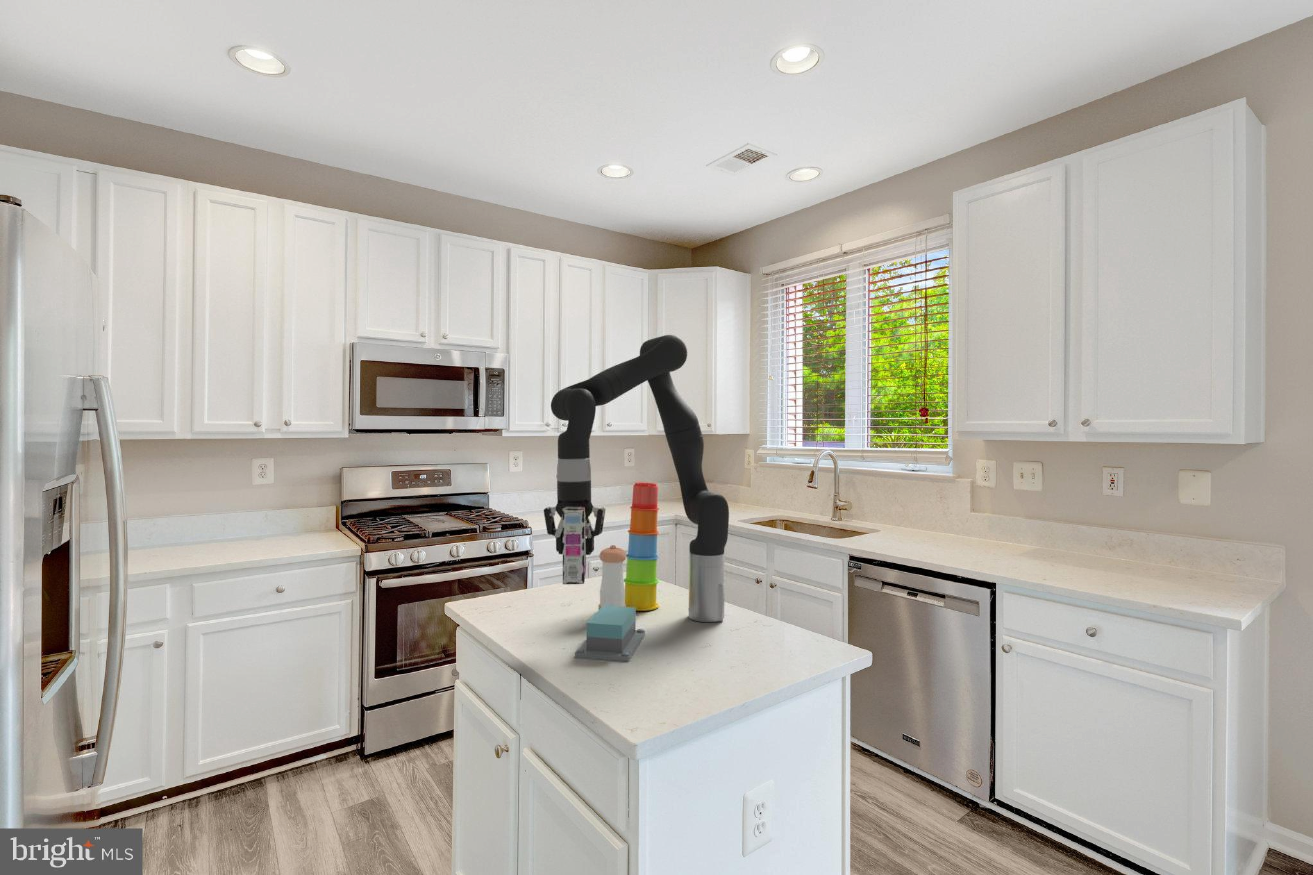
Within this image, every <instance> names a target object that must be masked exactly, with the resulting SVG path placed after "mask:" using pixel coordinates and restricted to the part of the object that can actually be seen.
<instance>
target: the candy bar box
mask: <svg viewBox="0 0 1313 875" xmlns="http://www.w3.org/2000/svg"><path fill="white" fill-rule="evenodd" d="M585 522H586V519H585V507H582V506H565V507H564V508H563V554H562V585H584V584H585V580H586V574H587V573H586V572H587V555H586V538H587V537H586V528H585Z"/></svg>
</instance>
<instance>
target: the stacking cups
mask: <svg viewBox="0 0 1313 875" xmlns="http://www.w3.org/2000/svg"><path fill="white" fill-rule="evenodd" d="M632 488H633V490H632V501H631V502H632V505H631V506H629V508H630V521H629V523H630V525H629V529H628V530H627V533H628V548H627V554H626V571H625V572H626V574H625V576H626V577H624V578H623V580H624V587H625V604H626V607H635V608H636V611H637V612H643V611H644V612H646V611H654V610H656V609H658V608H659V603H658V602H657V587H658V586H657V584H659V579H657V570H658V568H657V567H658V559H659V555H658V554H657V552H658V535H659V533H660V531H658V511H659V510H660V508H659V507H658V501H659V498H658V497H659V486H658V484H657V483H652V482H635V483H634V484H633V487H632Z"/></svg>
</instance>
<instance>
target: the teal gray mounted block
mask: <svg viewBox="0 0 1313 875" xmlns="http://www.w3.org/2000/svg"><path fill="white" fill-rule="evenodd" d="M636 616H637V613H636V608H635V607H619V606H602V607H601V608H600V609H599V611H598V610H597V612H595V613H594V614H593V615H592V617H591V618H589V620H588V621H587V622H586V630H585V631H586V638H585V640H584V642H582V644H580V646H579V647H578V648H577V649H576V651H575V652H574V658H580V659H590V660H605V661H616V662H630V661H631V659H632V658H633V656H634V654H635V652H636V650H637V649H638V647H639V646H640V644H641V643H642V641H643V640H644V637H645V636H646V630H645V629H643V628H636V627H637V626H636V624H637V623H636V620H637V618H636Z"/></svg>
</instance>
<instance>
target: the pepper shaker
mask: <svg viewBox="0 0 1313 875" xmlns="http://www.w3.org/2000/svg"><path fill="white" fill-rule="evenodd" d="M599 559H600V561H601V562H602V564H601V565H602V569H601V570H602V571H601V572H602V573H601V583H600V590H599V604H598V610H597V612H598V611H599V609H600V608H601V607H602V606H619V607H626V604H625V582H624V562H625V560H627V557H626V552H625V550H624V549H622V548H619V547H617V546H616V545H614V544H612V545H610V546H609V547H607V548H604V549H602V550H601V551H600V553H599Z"/></svg>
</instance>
